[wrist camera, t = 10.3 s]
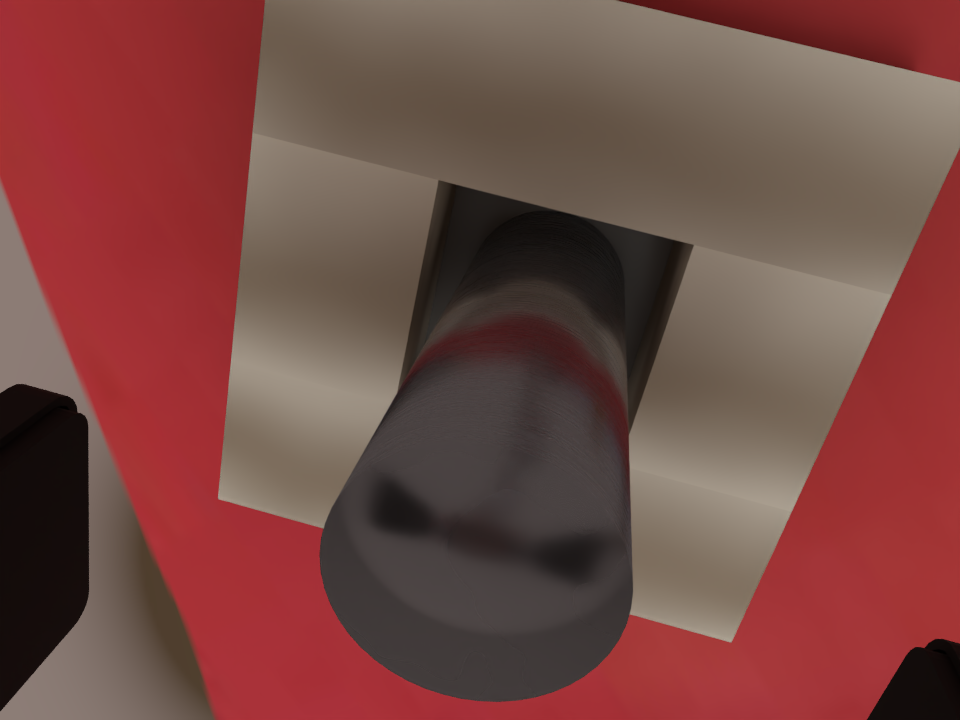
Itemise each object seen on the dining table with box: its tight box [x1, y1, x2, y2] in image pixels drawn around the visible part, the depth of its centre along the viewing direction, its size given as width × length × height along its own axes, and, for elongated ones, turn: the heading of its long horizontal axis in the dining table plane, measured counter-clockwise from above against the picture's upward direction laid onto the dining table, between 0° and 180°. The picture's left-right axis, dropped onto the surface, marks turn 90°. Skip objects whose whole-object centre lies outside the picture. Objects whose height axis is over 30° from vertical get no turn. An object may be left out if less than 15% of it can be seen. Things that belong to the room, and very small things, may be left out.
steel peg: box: [320, 210, 633, 702], centre depth 16 cm, size 4×4×12 cm
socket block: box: [218, 0, 960, 642], centre depth 20 cm, size 14×14×4 cm
